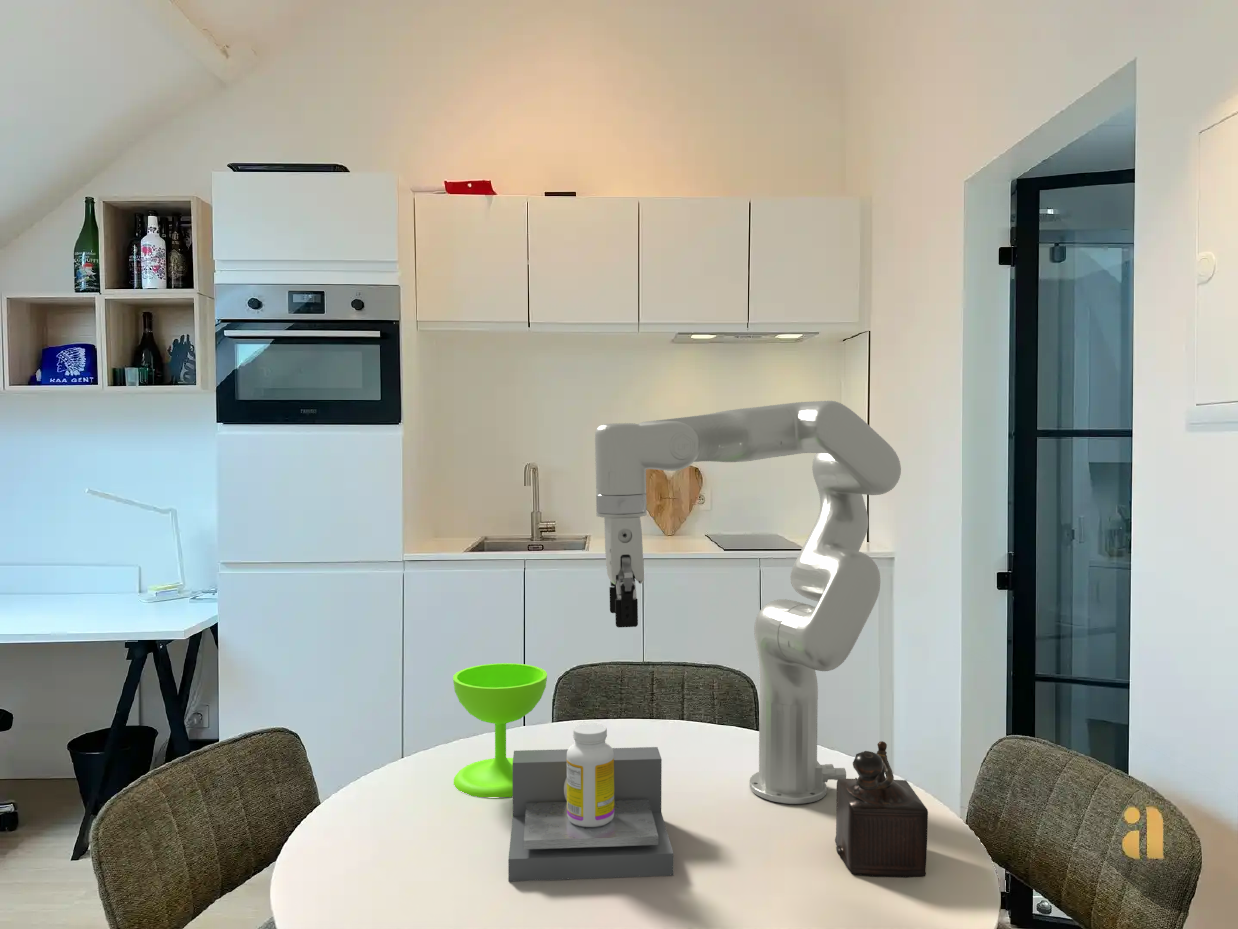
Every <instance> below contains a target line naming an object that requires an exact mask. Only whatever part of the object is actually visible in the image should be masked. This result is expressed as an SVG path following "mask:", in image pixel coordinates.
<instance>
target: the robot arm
mask: <svg viewBox="0 0 1238 929" xmlns="http://www.w3.org/2000/svg"><path fill="white" fill-rule="evenodd" d="M594 450H595V453H594V456H595V458H594V459H595V489H596V490H595V504H596V505H595V506H596V507H595V508H596V517H597V518H598V517H599V518H603V520H604V522H603V523H604V551H605V563H606V573H607V576H608V579H609V581H610V586H609V587H608V588H609V611H610V613H612V614H615V626H616V628H636V627H638V626H639V615H638V614H639V613H638V612H639V610H638V609H639V608H638V602H639V599H638V598H637V587H636V586H637V585H636V582H638V584H643V583H644V581H645V570H644V569H645V568H644V553H643V548H644V546H643V532H642V523H641V517H645V516H647V515H648V514H647V513H648V512H647V470H658V471H670V472H672V471H673V472H674V471H676V472H677V471H680V470H681V471H682V470H683V469H686V468H688V467H689V466H691V465H692V464H694V463H697V462H701V463H702V462H714V463H715V462H717V463H743V462H752V461H760V460H765V459H772V458H779V457H787V456H792V455H793V456H794V455H800V454H814V457H813V460H812V467H811V468H812V475H813V479H814V482H815V484H816V488H817V490H818V495H819V502H820V504H819V506H820V507H819V513H818V516H817V518H816V521H815V523H814V525H813V527H812V529H811V531H810V532H809V535H808V536H807V538H806V540H805V542H804V544H803V546H802V548H801V550H800V552H799V554H798V556H797V557H796V560H795V562H794V563H793V566H792V568H791V572H790V583H791V586H792V587H793V589H794V591H795V592H797V593H798V594H799V595H800V596H802V597H804V598H806V599H808V600H811V601H815V602H817V604H816V606H813V605H810V604H807V603H804V602H799V601H796V600H792V599H787V598H785V599H784V598H783V599H775V600H774V599H773V600H772V601H770V602H768V603H766V604H764V606H763V607H762V608H761V609H760V610H759V612H758V613H757V614H756V617H755V622H754V631H753V632H754V641H755V646H756V652H757V659H758V668H759V705H758V706H759V710H758V711H759V715H758V716H759V718H758V719H759V720H758V721H759V723H758V724H759V725H758V726H759V727H758V728H759V729H758V734H759V735H758V736H759V738H758V739H759V742H758V743H759V744H758V749H759V750H758V771H757V772H756V773H754V774H753V775H751V777H750V778H749V789H750V790H751V791H752V793H754V794H755V795H756V796H758V797H760V798H762V799H764V800H767V801H770V802H775V803H780V804H786V805H787V804H789V805H801V804H802V805H803V804H810V803H814V802H818V801H820V800H822V799H823V798H824V797H825V796H826V794H827V783H828V780H829V781H830V780H833V781H837V780H838V778H845V779H847V771H846V768H845V767H835V766H834V764H833V763H826V764H820V763H819V761H818V712H819V710H818V708H819V706H818V704H819V703H818V699H819V685H818V684H819V683H818V676H817V672H816V671H818V672H830V671H833V670H836V669H837V668H839V667H840V666H841V665H842V664H844V662H845V660H847V658H848V657H849V655H850V654H851V653H852V652H851V651H852V650H853V649H854V646H855V644H856V643H857V640H858V639H859V636H860V635H861V633H862V630H864V627H865V625H866V623H867V621H868V619H869V617H870V615H871V613H872V611H873V609H874V607H875V604H876V603H877V600H878V597H879V594H880V589H881V573H880V569H879V566H878V565H877V563H876V561H874V559H873V558H872V557H871V556H869V555H868V554H867V553H864V552H861V551H860V550H861V548H862V545H863V543H864V541H865V538H866V535H867V533H868V528H869V516H868V511H867V507H866V503H865V500H864V497H863V495H865V496H880V495H881V496H882V495H884V494H887V493H889V492H891V491H892V490H893V489H894V488H895V487H896V486H897V484H898V483H899V480H900V478H901V476H902V475H901V474H902V467H901V461H900V457H899V456H898V454H897V451H895V450H894V448H893V447H892V446H891V445H890V444H889V443H888V442H887V441H886V440H885V439H884V438H883V437H882V436H881V435H880V434H879V433H878V432H877V431H875V430H874V429H873V428H872V427H871V426H870V425H869V424H868V423H867V422H866V421H865V420H864V419H863V418H862V417H861V416H859V415H858V414H857V413H856V412H854V411H853V410H852V409H851V408H849V407H848V406H846V405H844V404H843V403H841V402H838V401H835V400H818V401H817V400H816V401H815V400H814V401H799V402H787V403H781V404H772V405H763V406H754V407H753V406H752V407H744V408H735V409H728V410H722V411H717V412H712V413H706V414H699V415H692V416H684V417H683V416H682V417H675V418H667V419H658V420H648V421H642V422H639V423H630V422H627V423H626V422H625V423H623V422H621V423H620V422H619V423H604V424H600V425H599V426H598V427H597V428H596V429H595V432H594Z"/></svg>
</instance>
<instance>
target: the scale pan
mask: <svg viewBox="0 0 1238 929" xmlns="http://www.w3.org/2000/svg"><path fill="white" fill-rule="evenodd" d="M639 845H658V833H657V829H656V826H655V822H654V818H653V814H652V811H651V807H650V803H649V800H648V799H639V800H614V817H613V819H612V820H611V821H610V822H609V823H607V824H605V825H602V826H598V827H583V826H578V825H575V824H573V823H572V822H571V821H570V820H569V819H568V816H567V802H539V803H526V814H525V829H524V849H551V848H580V847H609V846H639Z"/></svg>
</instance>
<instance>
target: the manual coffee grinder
mask: <svg viewBox="0 0 1238 929" xmlns="http://www.w3.org/2000/svg"><path fill="white" fill-rule="evenodd" d="M887 746H888V744H887V743H886V742H885V741H882V740H881V741H879V742H877V748H878V750H877V751H876V752H874V751H869V750H865V751H861V752H858V753H856V754H855V758H854V760H853V762H852V767H853V769H854V771H856V773H857V775H858V777H855V778H846V779H845V778H838V780H836V804H835V805H836V808H835V809H836V814H835V815H836V816H835V819H836V821H835V823H836V825H835V826H836V827H835V837H834V842H835V845H836V846H835V851H836V853H837V854H838V856H839V857H840V859H841V860H842V862H843V864H844V865H845V867H846V868H847V870H848V871H849V872H850V874H852V875H859V876H866V877H877V878H881V877H882V878H885V877H886V878H914V877H915V878H920V877H922V878H923V877H926V875H927V872H926V870H927V853H928V822H929V820H928V819H929V816H928V815H929V811H928V809H927V807H926V805H925V804H924V803H923V802H922V799H920V798H919V796H918V794H916V792H915V791H914V789H913V788H912V786H911V785H910V784H909V782H908V781H907V780H905V779H895V776H894V772H893V770H892V768H891V765H890V763H889V760H888V755H887V754H888V753H887V748H888V747H887Z"/></svg>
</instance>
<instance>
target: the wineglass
mask: <svg viewBox="0 0 1238 929" xmlns="http://www.w3.org/2000/svg"><path fill="white" fill-rule="evenodd" d="M452 676H453V677H452V680H453V688H454V692H455V694H456V697H457V700H458V701H459V704H460V705H461V706H462V707H463V708H464V709H465V710H466V712H468V714H469V715H471V716H473V717H474V718H475V719H477V720H479V721H481V722H485V723H489V724H494V758H486V759H482V760H478V761H475V762H472V763H469V764H466V766H464V767H462V768H461V769H460V770H458V771H457V773H456V774H455V775H454V778H453V786H454V785H455V786H454V788H455V787H456V788H457V789H458V790H457V789H456V788H455V789H456V790H457V791H458V792H460V791H462V792H464V793H467V794H469V795H468V796H470V795H471V796H470V797H475V796H477V797H476V798H480V797H509V798H513V797H512V796H513V757H507V724H509V723H512V722H515V721H518V720H521V719H522V718H524V717H525V716H526V715H528V714H529V713H530V712H532V711H533V710H534V708H536V706H537V705H538V703H539V702H540V701H541V699H542V697H543V695H544V693H545V690H546V688H547V682H548V681H547V679H548V673H547V671H546V670H545V669H543V668H541V667H538V666H536V665H535V666H534V665H532V664H526V663H525V664H523V663H513V662H512V663H510V662H503V663H502V662H500V663H486V664H479V665H474V666H469V667H466V668H464V669H461V670H459V671H456V672H455V674H453V675H452ZM462 792H461V793H462ZM464 793H463V794H464ZM467 794H466V795H467Z"/></svg>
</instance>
